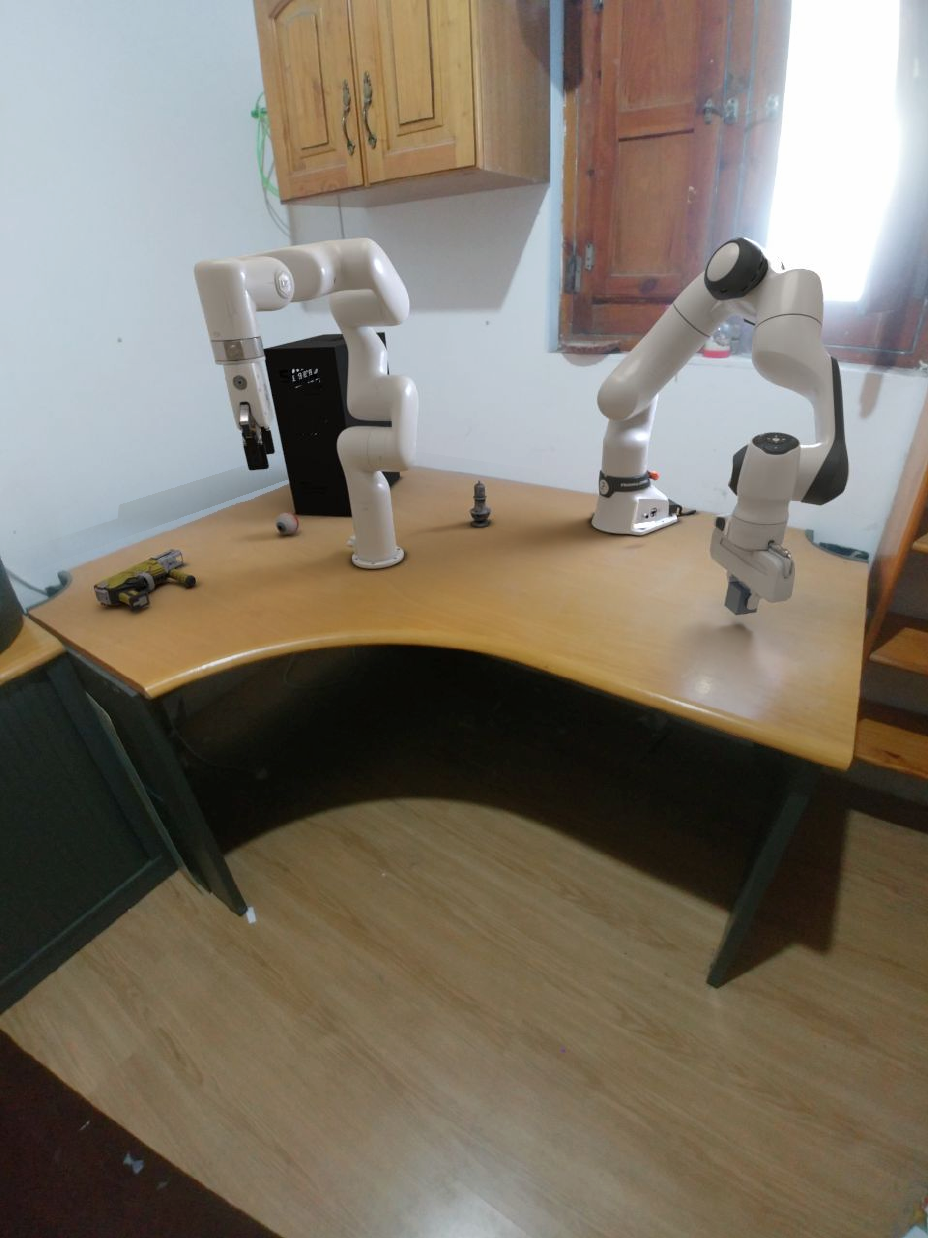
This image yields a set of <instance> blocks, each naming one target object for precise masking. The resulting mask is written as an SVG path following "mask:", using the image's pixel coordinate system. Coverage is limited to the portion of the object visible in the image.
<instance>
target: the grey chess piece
mask: <svg viewBox="0 0 928 1238" xmlns="http://www.w3.org/2000/svg"><path fill="white" fill-rule="evenodd" d="M481 481H482V480H480V479H479V480H478V481H477V483H476V484H474V486H473V491H474V492H473V494H474V495H473V496H472V499H473V501H474V505H473V508H471V509H469V513H470V516H471V518H472V519H473V520H472V521H471V522H470V524H471V526H473V527H477V528H479V527H480V528H482V527H487V526H490V525H491V521H490V520H489V517H490V516H491V512H492V509H491V508H490V507H488V506H487V501H486V499H487V495H486V486H485V484H483V483H481Z"/></svg>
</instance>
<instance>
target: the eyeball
mask: <svg viewBox="0 0 928 1238" xmlns="http://www.w3.org/2000/svg"><path fill="white" fill-rule="evenodd" d="M299 525H300V522H299V519H298V517H297V516H296V515H295V513H292V512H287V511H286V512H282V513H280V514H279V515H278V516H277V517H276V520H275V527H276V529H277V530H278V531H279V532H280V533H281V534H282V535H285V536H286V535H287V536H289V535H293V534H295V533H296V532H297V531H298V529H299Z"/></svg>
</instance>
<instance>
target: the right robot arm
mask: <svg viewBox="0 0 928 1238" xmlns="http://www.w3.org/2000/svg"><path fill="white" fill-rule="evenodd" d="M824 295H825V294H824V284H823V279H822V278H821V275H820V274H819V273H818V272H817V271H815V270H814V269H812V268H810V267H805V266H794V267H790V266H789V265H788V264H787V263H786V262H785V261H784V260H782V258H780V257H778V256H775V255H774V254H773V253H771V252H770V251H768V250H766V249H765V248H763V247H762V246H761V245H760V244H759V243H758V242H757V241H754V240H751V239H749V238H747V237H741V236H740V237H734V238H731V239H729V240H727V241H725V242H724V243H723V244H722V245H721V246H719V247H718V248H717V249H716V250H715V251H714V253H712V256H711V257H710V258H709V261H708V262H707V265H706V267H705V269H704V270H703V271H702V272H701V273H700V274H699V275H697V276H696V277H695V278H694V279H693V280H692V281H691V282H690V283H689V284H688V285H687V286H686V287H685V288H684V289H683V290H682V292H680V294H678V295H677V297H676V298H675V299H674V301H672V303H671V304H670V305H669V306H668V308H667V309H666V310H665V311H664V313H663V314H662V315H661V316H660V317H659V318H658V320H657V321H656V322H655V323H654V325H652V327H651V328H650V330H649V331H648V332H647V333H646V334H645V336H643V338H642V339H641V340H640V341H639V342H638V343H637V344H636V345H635V346H634V347H633V348H632V349H631V350H630V351H629V352H628V353H627V355H626V356H625V357H624V358H623V359H622V360H621V361H620V362H619V363H618V365H617V366H615V368H614V369H613V370H612V371H611V372H610V374H608V376H607V377H606V378H605V379H604V381H603V382H602V384H601V385H600V387H599V389H598V391H597V396H596V402H597V407H598V410H599V411H600V413H601V414H602V415H603V416H604V417H605V418H606V419H608V422H607V426H606V430H605V434H604V436H603V440H602V453H601V468H600V470H599V474H598V492H599V493H598V498H597V502H596V507H595V511H594V514H593V517H592V520H591V525H592V526H593V527H594V528H595V529H597V530H599V531H601V532H605V533H611V534H623V535H625V534H626V535H632V536H633V535H634V536H645V535H646V534H650V533H652V532H654V531H657V530H660V529H662V528H665V527H668V526H670V525H672V524H675V523H677V522H678V516H677V515H676V514H677V513H678V515H679V516H689V515H692V514H695V513H696V512H697V510H696V509H693V510H690V511H687V512H682V511H683V506H682V505H681V504H678V503H676V502H675V501H673V500H672V499H670V498H668V497H667V496H666V495H665V494H664V493H663V492H661V491H660V490H659V489H658V488H656V487H655V486H654V485H652V483H651V480H653V481H658V479H659V478H660V473H659V472H657V471H654V470H651V471H649V470H648V469H647V466H648V460H649V459H648V458H649V447H650V440H651V434H652V431H653V426H654V421H655V416H656V411H657V406H658V401H659V395H660V392H661V391H662V389H664V388H665V387H666V385H667V384H669V382H670V381H672V379H673V378H675V376H676V375H677V374H679V372H680V371H681V370H682V369H683V368H684V367H685V366H686V365H687V364H688V363H689V362H690V360H691V359H692V358H693V357H694V356H695V355H696V354H697V353H698V352H699V351H700V350H701V348H702V347H703V346H704V345H705V344H706V343H707V341H709V340H710V338H711V337H712V336H713V335H714V334H715V333H716V331H717V330H718V329H719V328H720V327H721V326H722V324H723V323H724V322H726V321H727V320H728V319H729V318H731V317H734V316H739V317H741V318H742V319H743V322H744V323H747V324H749V325H751V326H754V327H753V328H754V329H753V333H752V343H751V363H752V365H753V367H754V369H755V371H756V372H757V373H758V374H759V375H760V377H762V378H763V379H764V380H766V381H767V382H769V383H770V384H773V385H775V386H778V387H781V388H784V389H787V390H789V391H792V392H794V393H796V394H798V395H800V396H802V397H803V398H805V399H806V400H807V401H808V402H809V403H810V404H811V406H812V408H813V419H814V437H815V439H814V440H815V444H811V445H810V444H801V441H800V440H799V439H798V438H797V437H796V436H794V435H791V434H788V433H785V432H779V431H778V432H777V431H771V432H770V431H769V432H764V433H763V432H762V433H760V434H757V435H755V436H754V437H752V438H751V439H750V441H749V443H747V444H745V445H744V446H742V447H741V448H740V449H739V450H737V452H735V453H734V454H733V456H732V468H731V473H730V478H729V480H728V483H727V486H728V488H729V489H730V490H731V492H732V493H733V494H734V495H735V496H736V497H737V498H736V499H737V500H736V502H735V505H734V507H733V509H732V512H728V513H722V514H716V515H715V516H714V517H713V526H714V528H713V530H712V534H711V539H710V545H709V555H710V558H711V559H712V560H713V561H714V562H715V563H717V564H718V565H720V567H722V568H723V569H724V570H726V578H727V583H728V584H729V582H734V581H742V582H743V583H744V584H746V585H747V586H748V587H750V588H751V590H750V593H751V594H752V595H751V596H750V598H745V603H744V606H745V607H747V608H748V609H749V610H753V609H756V608H757V609H758V607H759V603H758V602H760V601H761V600H762V599H764V600H765V601H766V602H768V603H771V604H776V603H782V602H786V601H789V599H790V598H791V597H792V594H793V589H794V584H795V576H796V564H795V560H794V559H793V557H792V555H791V554H792V553H791V552H790V550H789V549H787V548H784V547H783V543H784V540H785V539H784V538H785V534H786V530H787V526H788V522H789V518H790V512H789V507H790V503H791V502H800V503H802V504H809V505H814V506H820V507H821V506H823V505H826V504H828V503H830V502H832V501H833V500H835V499H836V498H838V497H839V496H841V495H842V494H843V493H844V492H845V489H846V487H847V484H848V481H849V477H850V461H849V456H848V450H847V449H848V448H847V443H846V433H845V417H844V398H843V385H842V377H841V369H840V365H839V362H838V359H837V358H836V357H834V356H832V355H830V354H829V353H828V351H827V349H826V347H825V346H824V343H823V340H822V331H823V329H822V328H823V321H824V313H825V309H824V308H825V297H824ZM728 584H727V585H728Z"/></svg>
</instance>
